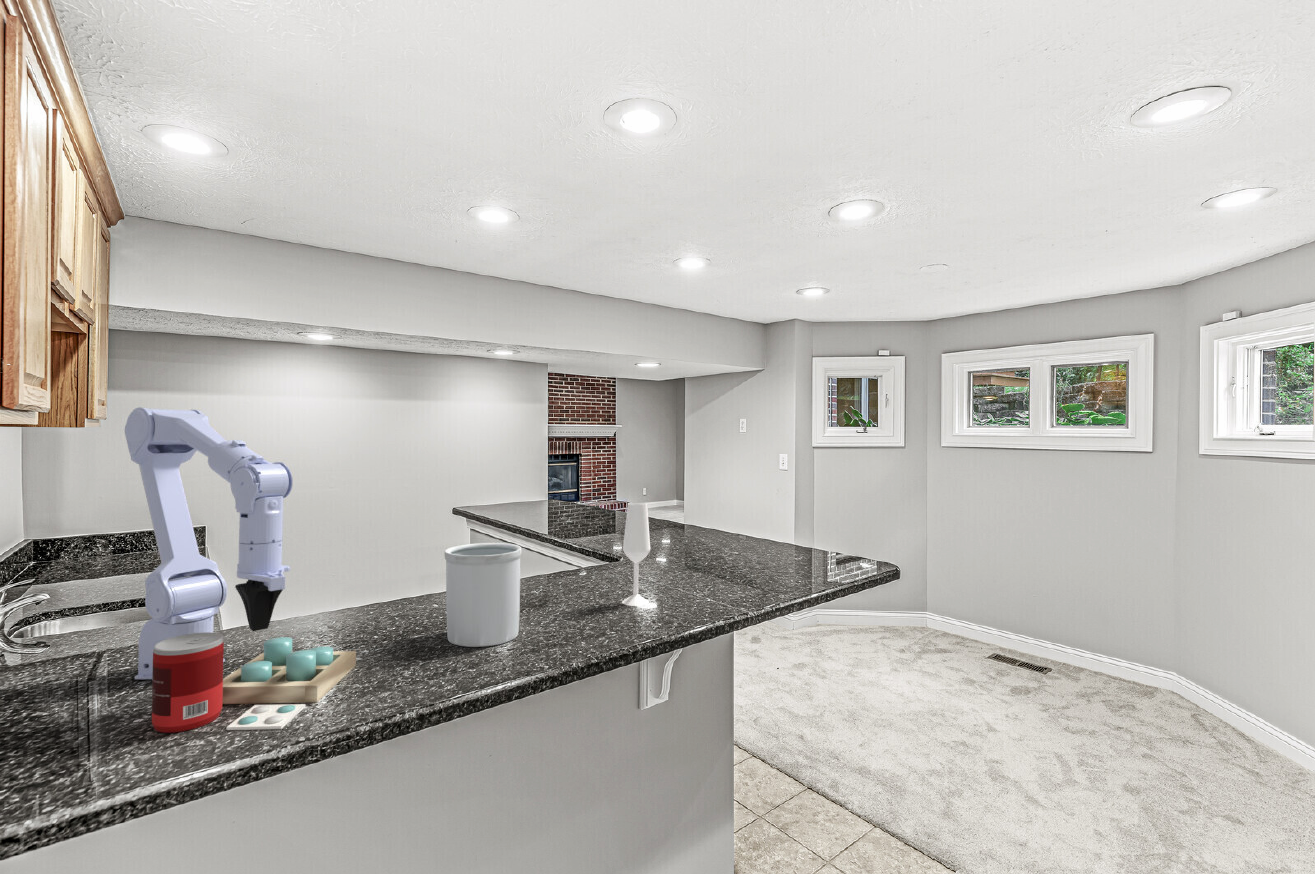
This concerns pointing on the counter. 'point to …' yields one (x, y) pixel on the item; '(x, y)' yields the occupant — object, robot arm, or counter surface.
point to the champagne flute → (636, 545)
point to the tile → (266, 717)
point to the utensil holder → (482, 593)
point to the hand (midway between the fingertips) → (259, 628)
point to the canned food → (187, 681)
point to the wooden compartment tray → (288, 683)
